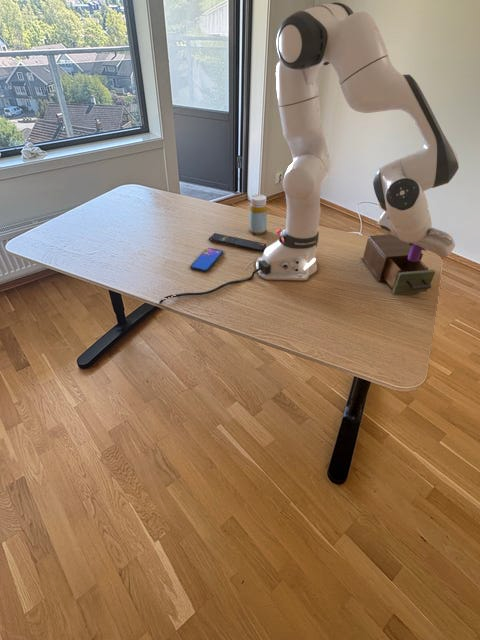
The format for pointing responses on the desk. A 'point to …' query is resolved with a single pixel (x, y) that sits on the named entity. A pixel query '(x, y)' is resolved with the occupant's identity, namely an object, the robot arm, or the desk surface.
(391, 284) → the drawer
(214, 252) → the smartphone
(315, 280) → the desk surface
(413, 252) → the glue stick
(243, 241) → the remote control
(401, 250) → the cabinet
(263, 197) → the bottle
